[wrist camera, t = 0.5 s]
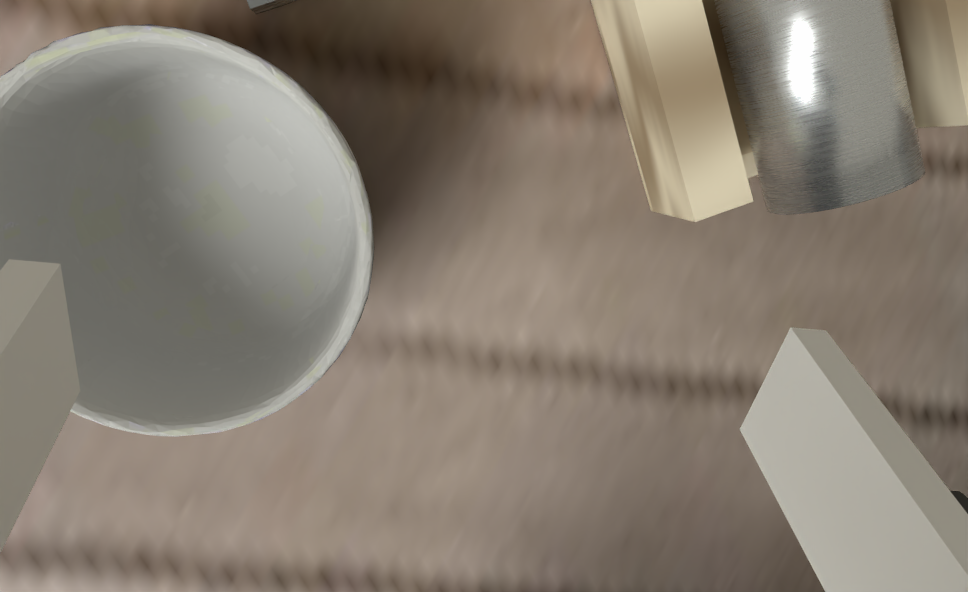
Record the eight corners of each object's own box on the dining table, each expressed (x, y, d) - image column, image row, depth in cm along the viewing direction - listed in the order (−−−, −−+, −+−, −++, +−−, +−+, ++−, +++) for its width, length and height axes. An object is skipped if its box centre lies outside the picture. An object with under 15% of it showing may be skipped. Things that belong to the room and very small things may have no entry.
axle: (867, 164, 29) (961, 168, 24) (743, 208, 29) (812, 220, 24) (799, -141, 26) (888, -206, 21) (664, -95, 26) (723, -151, 21)
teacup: (340, 31, 26) (313, -18, 19) (412, 326, 29) (414, 393, 21) (-65, 116, 26) (-271, 101, 18) (41, 413, 28) (-101, 515, 20)
